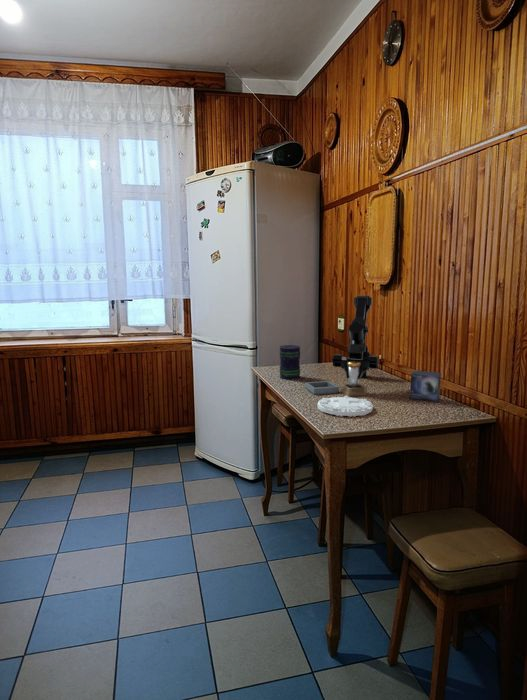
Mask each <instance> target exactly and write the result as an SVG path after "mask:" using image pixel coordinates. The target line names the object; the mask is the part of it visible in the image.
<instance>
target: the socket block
mask: <svg viewBox="0 0 527 700" xmlns="http://www.w3.org/2000/svg"><path fill="white" fill-rule="evenodd" d="M340 393H343V394H344V395H345V396H348V397H355V396H367V394H368V387H367V386H364V385H362V384H360V383H359V388H349V387H348V383H345V384H340Z"/></svg>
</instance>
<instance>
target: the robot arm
mask: <svg viewBox="0 0 527 700" xmlns="http://www.w3.org/2000/svg"><path fill="white" fill-rule="evenodd" d="M353 306H355V315H354V316H355V317H354V319H352V321H351V324H350V325H349V326H348V330H347V331H348V332H347V333H348V334H349V338H350V342H349V344H348V351H347V352H348V353H347V356H343V354H333V355H332V357H331V360H332V366H333V367H334V368H335V367H336V368H341V369H342V370H344V373H345V377H346V379H347V380H348V368H349V365H347V362H349V361H358V362H361V365H360V366H359V380H361V379H362V378H370V376H369V375H368V374H367V371H369V370H370V369H374V370H375V369H376V370H377V369H378V368H379V357H378V356H377V355H371V354H370V351H369V348H368V346H367V344H366V341H367V340H366V338H367V335H368V333H369V330H370V329H369V327H368V326H367V321H368V320H367V319H368V317H367V316H368V314H369V312H370V311H371V306H373V297H371V296H370V295H356V296H355V297H353Z"/></svg>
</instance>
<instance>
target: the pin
mask: <svg viewBox="0 0 527 700" xmlns="http://www.w3.org/2000/svg"><path fill="white" fill-rule="evenodd" d="M347 365H348V379H347V381H348V382H347V384H348V387H349V388H359V384H360V379H359V366H360V365H361V362H358V361H349V362H347Z"/></svg>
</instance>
